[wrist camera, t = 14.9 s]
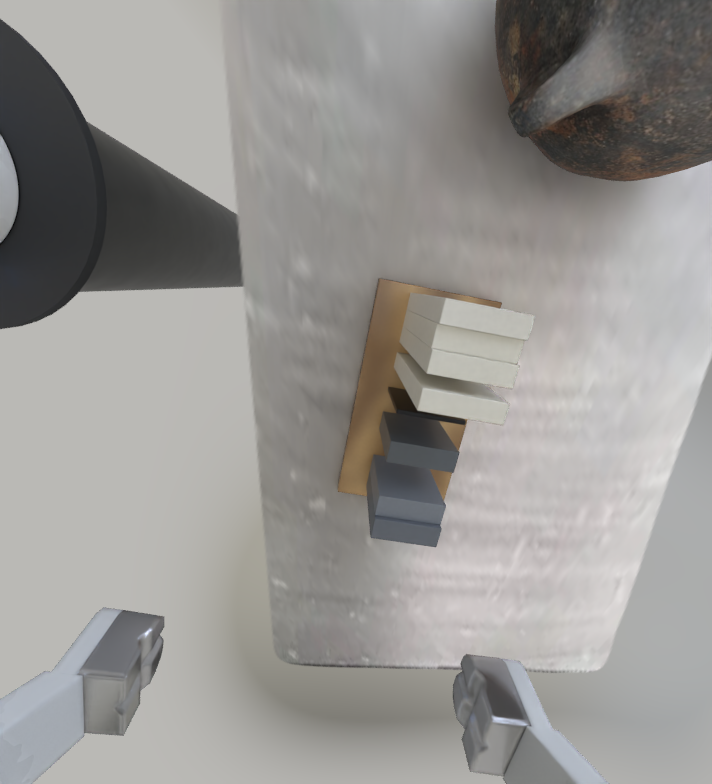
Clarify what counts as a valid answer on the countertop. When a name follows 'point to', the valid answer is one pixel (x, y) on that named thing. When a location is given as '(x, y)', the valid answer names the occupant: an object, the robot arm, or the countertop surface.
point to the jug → (610, 82)
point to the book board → (386, 385)
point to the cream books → (465, 339)
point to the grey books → (408, 480)
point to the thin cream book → (449, 394)
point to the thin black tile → (407, 407)
